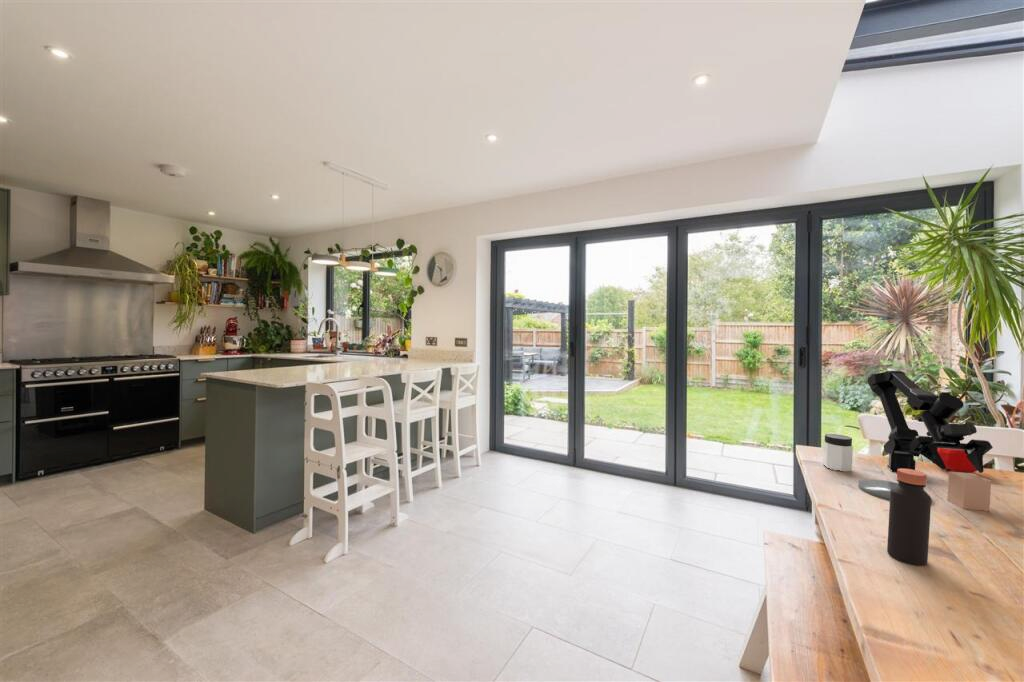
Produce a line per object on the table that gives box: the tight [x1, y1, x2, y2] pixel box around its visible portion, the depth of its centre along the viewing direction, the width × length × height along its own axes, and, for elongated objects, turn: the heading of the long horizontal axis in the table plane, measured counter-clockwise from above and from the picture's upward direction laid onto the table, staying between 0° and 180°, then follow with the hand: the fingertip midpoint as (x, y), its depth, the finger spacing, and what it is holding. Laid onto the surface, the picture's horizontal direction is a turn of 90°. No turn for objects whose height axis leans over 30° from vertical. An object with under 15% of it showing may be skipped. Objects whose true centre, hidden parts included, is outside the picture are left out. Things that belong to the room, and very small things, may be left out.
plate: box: [857, 478, 898, 501], centre depth 135 cm, size 17×17×1 cm
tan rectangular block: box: [946, 470, 992, 512], centre depth 126 cm, size 6×6×9 cm
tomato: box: [937, 448, 977, 473], centre depth 157 cm, size 13×12×11 cm
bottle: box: [886, 468, 932, 566], centre depth 96 cm, size 7×7×20 cm
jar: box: [821, 433, 854, 472], centre depth 158 cm, size 9×8×12 cm
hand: (963, 470), depth 128 cm, fingers open, 9 cm apart
